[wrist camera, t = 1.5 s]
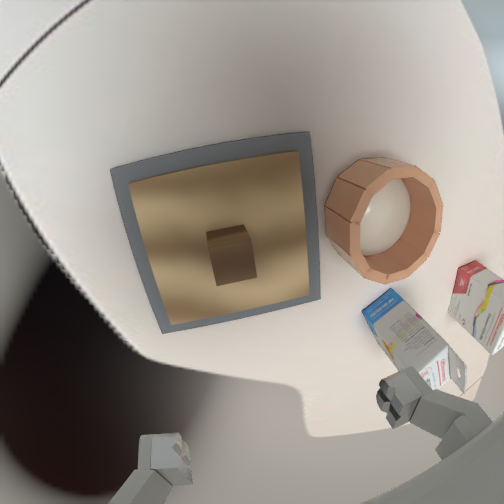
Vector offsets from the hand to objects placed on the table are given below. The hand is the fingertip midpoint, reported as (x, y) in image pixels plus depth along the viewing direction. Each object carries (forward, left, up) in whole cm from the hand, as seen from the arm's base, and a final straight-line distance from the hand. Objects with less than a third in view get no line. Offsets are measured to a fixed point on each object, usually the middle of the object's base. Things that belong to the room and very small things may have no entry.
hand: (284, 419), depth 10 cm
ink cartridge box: (+15, +34, -19) cm, 41 cm away
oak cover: (0, 0, -18) cm, 18 cm away
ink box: (+15, +18, -19) cm, 30 cm away
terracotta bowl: (0, +15, -18) cm, 24 cm away
